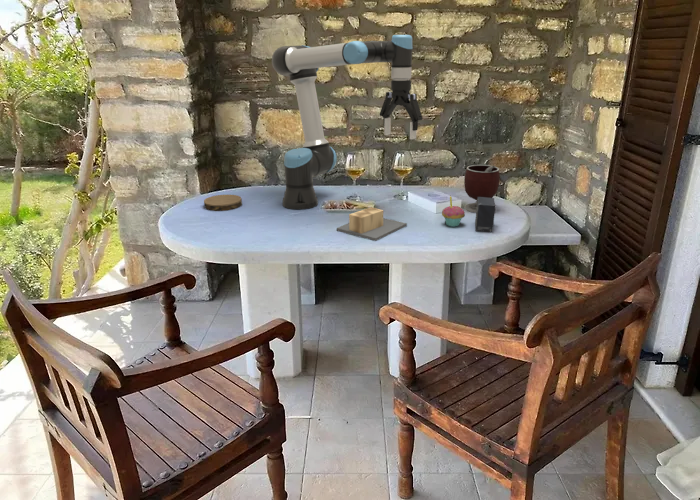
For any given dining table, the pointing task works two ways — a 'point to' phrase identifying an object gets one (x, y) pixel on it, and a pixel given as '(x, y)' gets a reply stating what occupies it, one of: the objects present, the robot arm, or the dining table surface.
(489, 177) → the mate gourd
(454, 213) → the cupcake
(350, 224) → the oak block
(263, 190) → the dining table surface
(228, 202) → the wood slice
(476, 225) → the small box
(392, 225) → the mat
